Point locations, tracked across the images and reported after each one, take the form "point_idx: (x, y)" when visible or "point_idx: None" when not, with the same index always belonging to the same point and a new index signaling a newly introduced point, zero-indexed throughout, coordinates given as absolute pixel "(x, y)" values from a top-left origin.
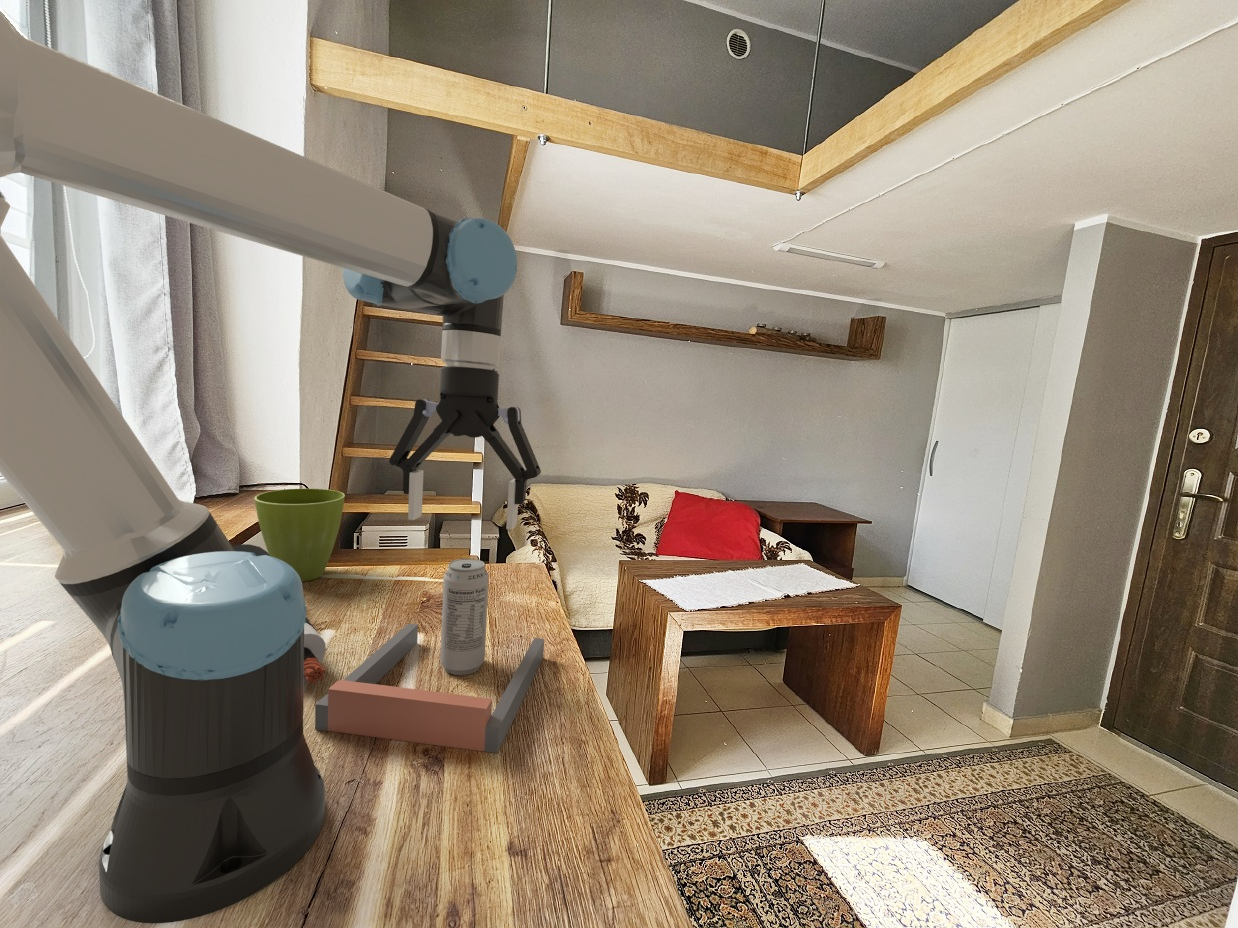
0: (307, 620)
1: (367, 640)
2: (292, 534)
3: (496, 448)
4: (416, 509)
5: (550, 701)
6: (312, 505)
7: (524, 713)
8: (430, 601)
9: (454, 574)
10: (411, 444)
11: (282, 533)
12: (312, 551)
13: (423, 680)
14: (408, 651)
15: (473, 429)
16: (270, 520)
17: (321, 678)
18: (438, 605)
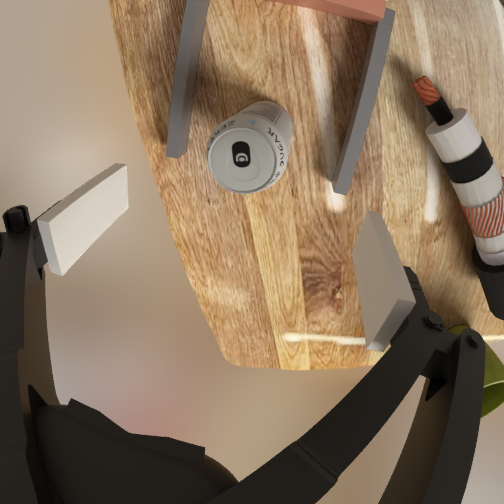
0: (458, 171)
1: (389, 192)
2: None
3: (12, 317)
4: (366, 238)
5: (158, 63)
6: None
7: None
8: (331, 289)
9: (260, 127)
10: (428, 418)
11: (488, 356)
12: None
13: (305, 93)
14: (338, 160)
15: (64, 442)
16: (501, 366)
17: (413, 82)
18: (320, 279)
